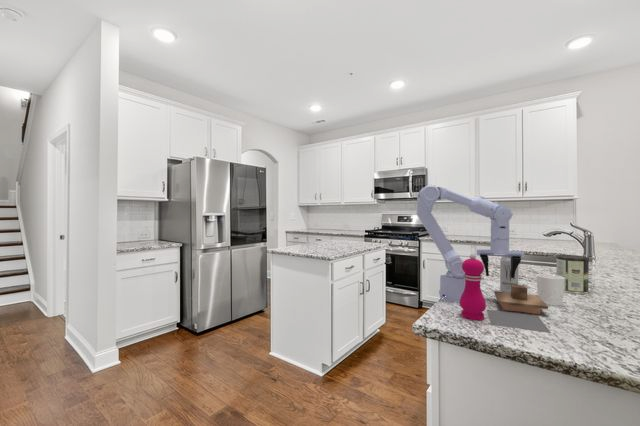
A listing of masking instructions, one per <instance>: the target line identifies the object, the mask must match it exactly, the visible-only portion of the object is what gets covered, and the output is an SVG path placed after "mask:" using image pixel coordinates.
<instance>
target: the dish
mask: <svg viewBox="0 0 640 426" xmlns="http://www.w3.org/2000/svg"><path fill="white" fill-rule="evenodd" d="M500 305H501V307H502V310H504V311H510V312H511V311H513V312H517V313H525V314H534V315H535V314H537V315H541V308H534V307H525V306H516V305H507V304H500Z"/></svg>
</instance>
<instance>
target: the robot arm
mask: <svg viewBox="0 0 640 426" xmlns="http://www.w3.org/2000/svg"><path fill="white" fill-rule="evenodd" d="M442 200H443V201H444V200H447V201H450V202H453V203H456V204H458V205H459V204H460V205H463V206H465V207H467V208H468V210H469V211H470V212H472V213H475V214H477V215H479V216H483V217H484V218H489V219H490V249H476V256H479V257H480V259H481V262H482V263H483V266H484V270H485V276H486V277H489V275H490V273H489V257H501V258H502V257H511V273H510V276H511V278H514V274H515V271H516V269H517V267H518V268H519V266H520V263H521V261H522V259H525V252H524V251H516V250H510V220H511V219H512V217H513V214H514V213H513V212H512V210H511V208H510V207H509V206H507V205H503V204H502V205H501V204H499V202H497V201H494V202H493V201H491V200H488V199H485V196H481V195H480V196H474V197H473V198H472V197H469V196H466V195H465V194H461V193H459V192H457V191H454V190H451V189H449V188H446V187H441V186H436V185H435V184H434V185H433V184H428V185H426V186H423V187H422V188H421V189H420V190H419V192H418V195H417V197H416V215H417V217H418V219H419V220H420V222H421V223H422V225H423V227H424V228H425V230H426V232H427V233H428V235H429V236H430V239H432V242H433V243H434V244H435V246H436V247H437V249H438V251H439V252H440V254H441V257H442V258H443V260H444V261H445V263H444V264H445V268H446V269H447V271H446V273H445V274H440V279H439V291H438V293H439V300H440V301H446V302H447V301H449V302H455V303H456V302H457V303H460V298H461V296H462V294H463V291H464V289H465V279H464V274H465V272H464V271H463V269H462V264H463V262H464V261H465V260H463V259H462V258H461V257H460V255H459V254H458V252H457V251H456V250H455V249H454V247H453V245H452V244H451V242H450V240H449V239H448V238H447V236H446V234H445V233H444V231H443V229H442V228H441V227H440V225H439V223H438V222H437V220H436V218H435V217H434V215H433V213H432V211H433V208H434V205H435V203H436V202H437V201H442ZM445 296H446V297H445ZM443 297H444V298H443ZM442 298H443V299H442Z"/></svg>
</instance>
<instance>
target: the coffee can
mask: <svg viewBox="0 0 640 426" xmlns="http://www.w3.org/2000/svg"><path fill="white" fill-rule="evenodd" d="M555 257H556V275H558V276H562V277H565V285H564V293H568V294H569V293H570V294H575V295H576V294H577V295H588V294H589V293H590V292H589V272H590V271H589V262H590V261H589V260H590V257H588V256H583V255H576V254H557V255H555Z"/></svg>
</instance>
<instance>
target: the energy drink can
mask: <svg viewBox="0 0 640 426" xmlns="http://www.w3.org/2000/svg"><path fill="white" fill-rule="evenodd" d="M499 262H500V263H499V264H500V265H499V267H500V270H499V271H500V273H499V276H500V278H499V291H500V292H510V293H511V284H515V285H519V266H518V267H517V269H516V271H515V274H514V278H511V276H510V273H511V257H502V256H501V258H500V260H499Z"/></svg>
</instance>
